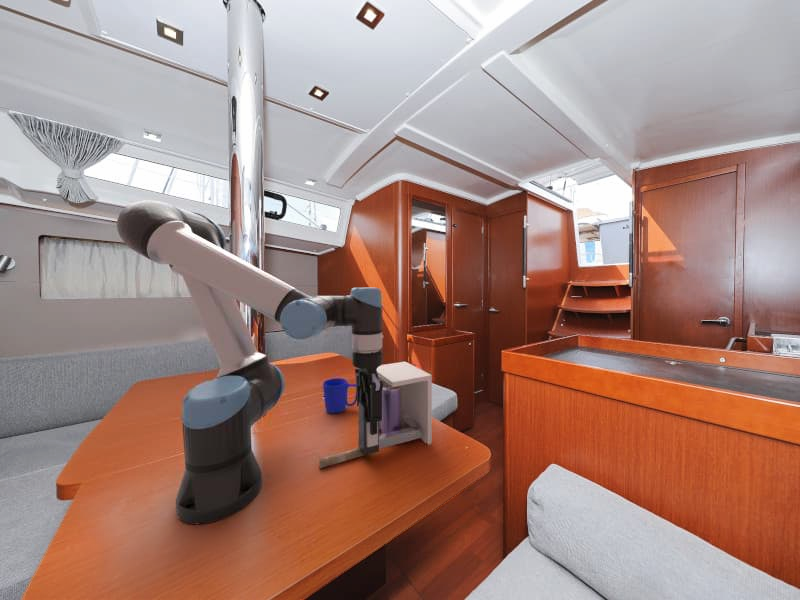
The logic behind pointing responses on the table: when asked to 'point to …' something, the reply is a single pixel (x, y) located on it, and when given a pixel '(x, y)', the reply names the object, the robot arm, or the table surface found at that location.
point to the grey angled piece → (387, 439)
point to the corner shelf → (411, 394)
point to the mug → (336, 395)
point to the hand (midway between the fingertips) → (369, 440)
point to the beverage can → (391, 408)
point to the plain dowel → (340, 457)
